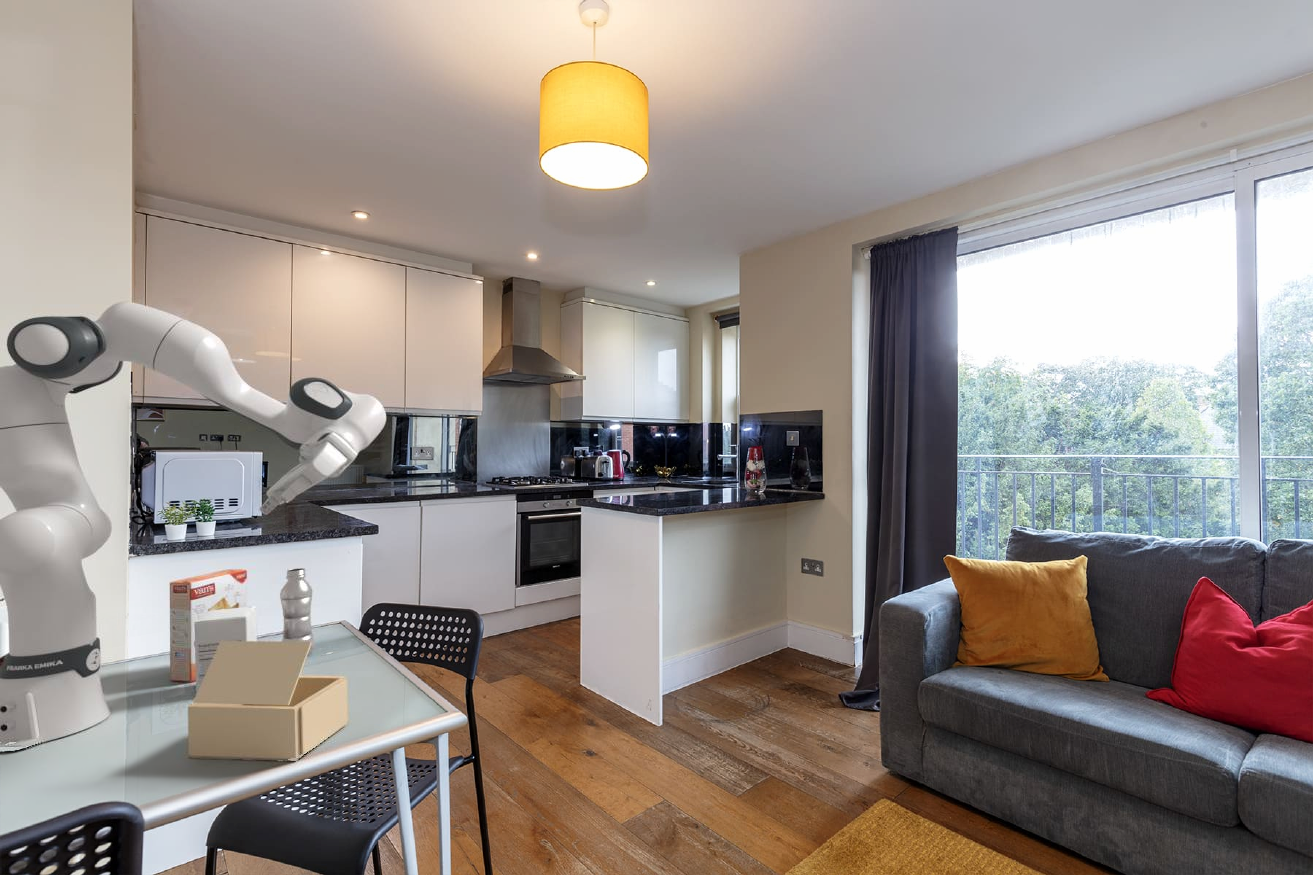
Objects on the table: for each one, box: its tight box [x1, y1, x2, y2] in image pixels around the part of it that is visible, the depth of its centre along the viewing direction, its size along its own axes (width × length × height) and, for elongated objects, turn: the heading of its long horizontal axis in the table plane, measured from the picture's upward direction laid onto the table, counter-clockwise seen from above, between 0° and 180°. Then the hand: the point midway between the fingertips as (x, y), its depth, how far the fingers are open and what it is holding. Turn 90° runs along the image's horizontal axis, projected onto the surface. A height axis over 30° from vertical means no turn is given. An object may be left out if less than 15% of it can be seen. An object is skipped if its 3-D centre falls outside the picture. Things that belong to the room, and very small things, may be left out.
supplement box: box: [194, 605, 258, 696], centre depth 125 cm, size 9×9×15 cm
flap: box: [192, 640, 312, 705], centre depth 97 cm, size 16×1×10 cm
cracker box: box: [169, 568, 248, 683], centre depth 135 cm, size 14×6×21 cm, turn 168°
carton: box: [187, 674, 349, 761], centre depth 101 cm, size 19×14×8 cm
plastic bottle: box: [279, 567, 315, 655], centre depth 142 cm, size 6×7×20 cm
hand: (273, 505), depth 112 cm, fingers open, 8 cm apart
